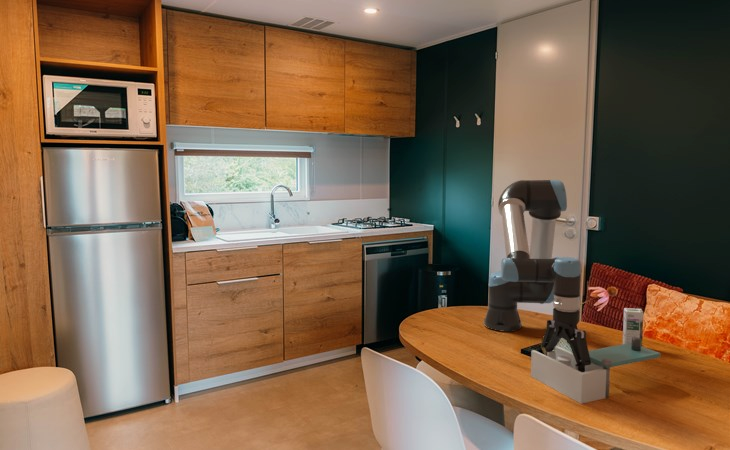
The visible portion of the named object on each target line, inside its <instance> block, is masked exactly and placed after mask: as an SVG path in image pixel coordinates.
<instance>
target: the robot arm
mask: <svg viewBox="0 0 730 450" xmlns="http://www.w3.org/2000/svg"><path fill="white" fill-rule="evenodd" d="M567 199H568V198H567V192H566V187H565V184H564V183H563V182H562V181H561V180H557V179H555V180H554V179H542V180H541V179H533V180H525V179H523V180H517V181H514V182H512V183H510V184H509V185H508V186H506V188H505V189H504V190H503V191H502V193H501V195H500V197H499V199H498V203H497V205H498V213H499V214H500V215H501V217H502V226H503V227H502V228H503V229H502V230H503V236H504V248H505V255H506V256H505V257H506V258H505V257H504V258H502V259H501V264H500V270H498V271H495V272H492V273H491V274H490V276H489V279H488V285H487V286H488V308H487V311H486V314H485V318H484V319H483V325H484V324H485V325H486V326H487V327H489V328H492V329H496V330H504V331H503V332H513V331H512V330H516V331H519V330H521V329H522V321H521V317H520V314H519V311H518V304H519V303H520V304H522V303H523V304H540V305H543V304H551V303H553V309H552V319H549V320H548V319H547V320H546V329H545V331H544V335H543V339H542V341H541V348H544V350H545V351H546V353H545V355H546V356H548V357H550V358H552V359H555V358H556V351H554V350H555V347H556V346H558V344H559V342H560V341H561V339H563V340H565V341H566V343H567V344H568V345H569V348H570V350H571V352H572V353H573V355H574V358H575V360H576V363H577V364H575V367H574V369H576V370H578V371H580V372H585V366H586V365H590V364H591V360H590V356H589V351H590V350H589V347H588V342H587V331H586V330H580V329H578V324H579V323H580V313H581V312H580V310H579V309H580V307H581V282H582V281H581V278H582V263H581V260H580V259H579V258H576V257H569V256H562V257H561V256H554V257H553V251H554V250H553V249H554V240H555V231H556V221H557V220H558V219H559V218H560V217H561V215H562V214H561V213H562V212H565V211H567V207H568V202H567V201H568V200H567ZM525 212H528V215H529V216H530V217H531V219H532V220H531V231H530V245H529V242H528V241H529V240H528V234H527V227H526V223H525V214H524V213H525ZM520 328H521V329H520ZM518 329H519V330H518ZM580 360H581V361H580Z"/></svg>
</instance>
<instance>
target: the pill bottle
mask: <svg viewBox="0 0 730 450" xmlns="http://www.w3.org/2000/svg"><path fill="white" fill-rule="evenodd" d="M557 361H559V362H561V363H563V364H565V365H567V366H569V367H571V368H572V365H571V358H569V357H566V356H559V357H558V358H557Z"/></svg>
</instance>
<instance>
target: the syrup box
mask: <svg viewBox="0 0 730 450" xmlns="http://www.w3.org/2000/svg"><path fill="white" fill-rule="evenodd" d="M622 324H623V328H622V344H627V343H632V338H633V337H636V338H640V339H641V346H642V347H643V337H644V336H643V334H644V311H643V309H642V308H631V307H629V308H628V307H624V308H623V323H622Z"/></svg>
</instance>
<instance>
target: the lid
mask: <svg viewBox="0 0 730 450" xmlns="http://www.w3.org/2000/svg"><path fill="white" fill-rule="evenodd" d="M588 351H589V356H590V360H591V362H594V363H596V364H598V365H600V366H603V367H605V368H610V369H611V368H614V367H615V368H616V367H619V366H624V365H628V364H634V363H639V362H643V361H649V360H653V359H658V358H661V352H658V351H655V350H653V349H650V348H647V347H645V346H643V345H642V346H641V339H640V338H636V337H633V338H632V343H627V344H623V343H622V344H617V345H613V346H607V347H606V346H605V347H602V348H597V349H592V350H588Z"/></svg>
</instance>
